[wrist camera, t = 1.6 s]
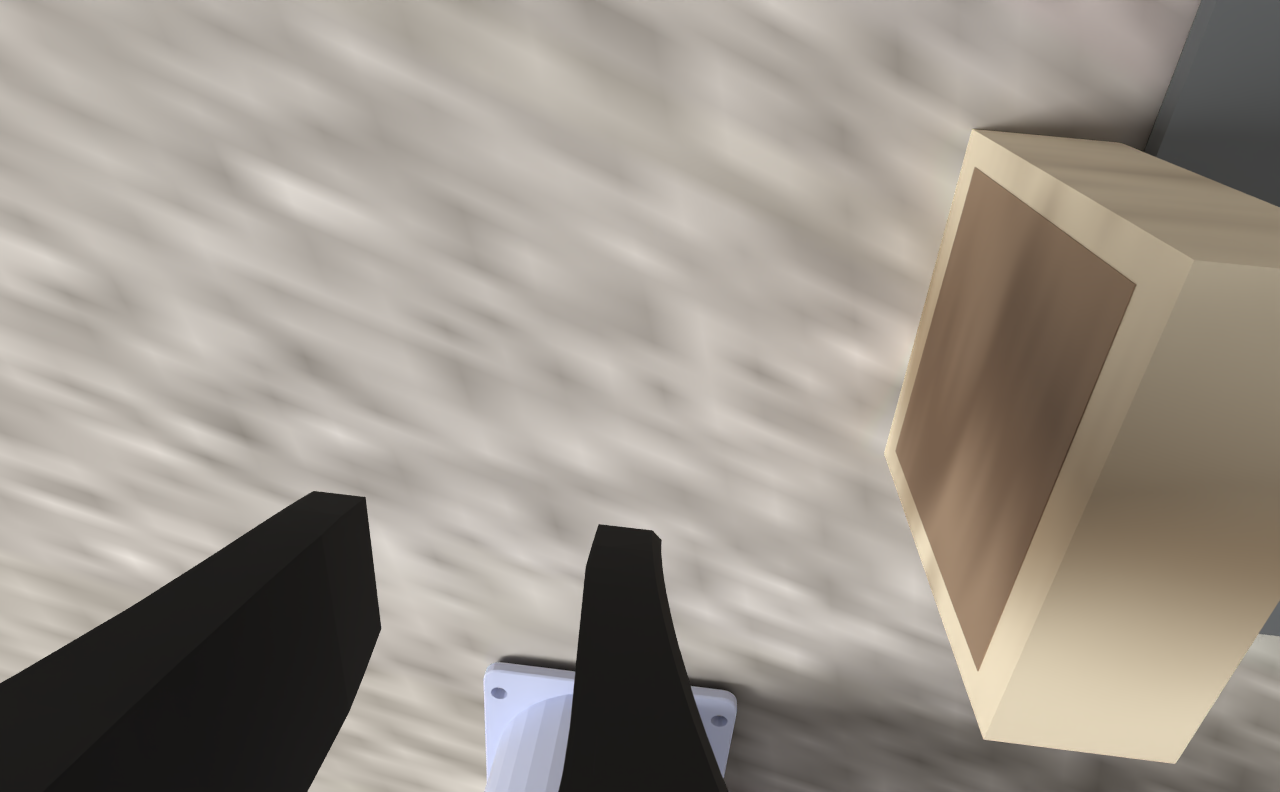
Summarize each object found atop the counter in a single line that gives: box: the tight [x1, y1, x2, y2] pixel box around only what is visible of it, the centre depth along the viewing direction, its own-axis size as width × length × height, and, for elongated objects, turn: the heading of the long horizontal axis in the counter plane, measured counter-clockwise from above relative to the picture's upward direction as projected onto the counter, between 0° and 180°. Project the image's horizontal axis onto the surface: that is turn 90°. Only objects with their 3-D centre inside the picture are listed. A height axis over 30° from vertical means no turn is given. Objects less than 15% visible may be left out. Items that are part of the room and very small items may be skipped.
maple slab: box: [884, 129, 1280, 764], centre depth 14 cm, size 8×3×8 cm, turn 176°
